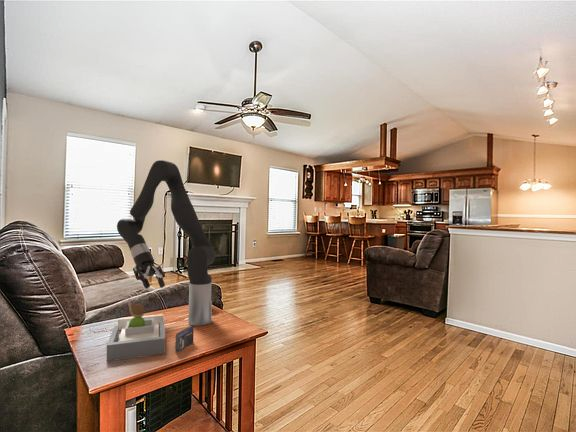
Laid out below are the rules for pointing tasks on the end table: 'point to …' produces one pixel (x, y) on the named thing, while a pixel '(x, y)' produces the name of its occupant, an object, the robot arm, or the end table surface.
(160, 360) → the end table surface
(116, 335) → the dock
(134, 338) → the tray
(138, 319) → the snail figurine
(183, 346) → the mini dv tape
